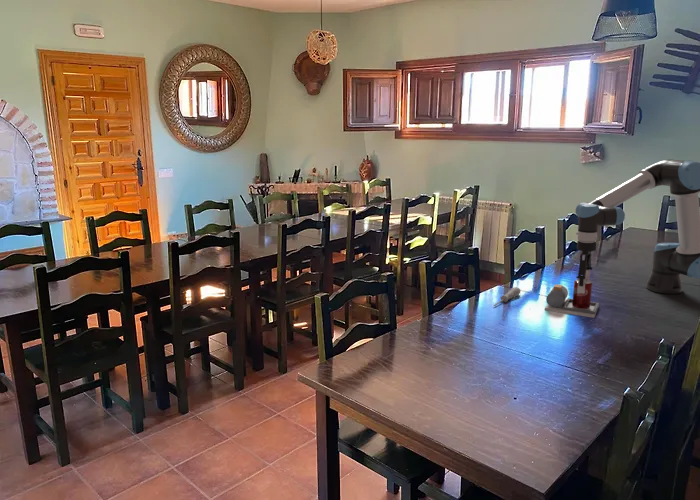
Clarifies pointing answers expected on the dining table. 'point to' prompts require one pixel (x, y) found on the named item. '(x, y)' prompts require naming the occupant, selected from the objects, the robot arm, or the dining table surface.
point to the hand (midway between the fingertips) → (583, 288)
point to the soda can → (582, 295)
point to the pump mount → (567, 303)
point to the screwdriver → (510, 295)
